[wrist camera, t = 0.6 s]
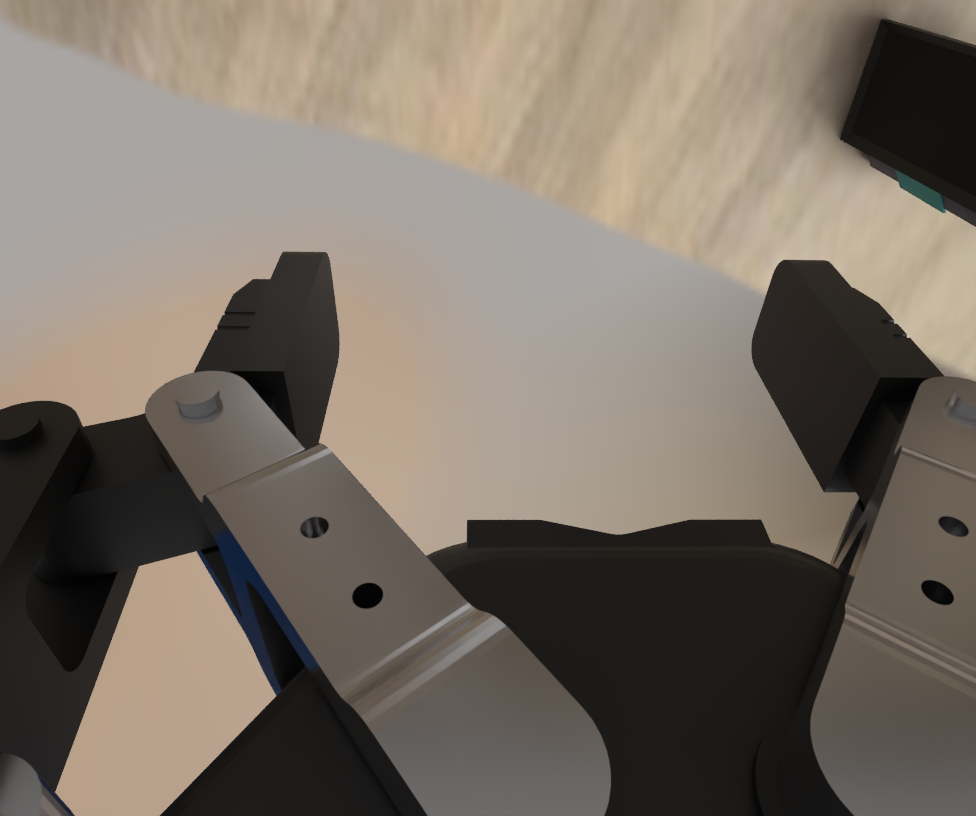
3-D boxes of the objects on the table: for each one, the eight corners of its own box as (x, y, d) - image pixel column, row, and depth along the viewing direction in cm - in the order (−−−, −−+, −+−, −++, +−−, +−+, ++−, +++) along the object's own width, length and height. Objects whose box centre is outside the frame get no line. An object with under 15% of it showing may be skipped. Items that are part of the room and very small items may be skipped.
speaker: (803, 139, 34) (946, 224, 26) (882, 15, 31) (1072, 68, 23) (909, 188, 37) (1068, 279, 29) (991, 78, 34) (1195, 146, 26)
